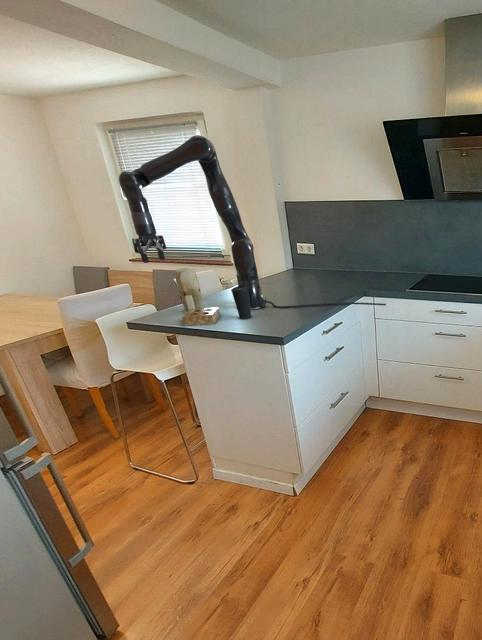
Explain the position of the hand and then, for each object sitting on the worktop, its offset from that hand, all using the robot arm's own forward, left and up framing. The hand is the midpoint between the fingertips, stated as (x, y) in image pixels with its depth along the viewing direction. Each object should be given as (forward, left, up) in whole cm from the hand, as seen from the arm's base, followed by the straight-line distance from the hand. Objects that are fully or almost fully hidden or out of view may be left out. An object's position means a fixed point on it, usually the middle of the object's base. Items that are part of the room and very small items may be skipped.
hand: (154, 261), depth 171 cm
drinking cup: (-36, +15, -25) cm, 47 cm away
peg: (-11, +4, -25) cm, 28 cm away
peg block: (-18, +15, -25) cm, 34 cm away
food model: (-9, -5, -25) cm, 27 cm away
